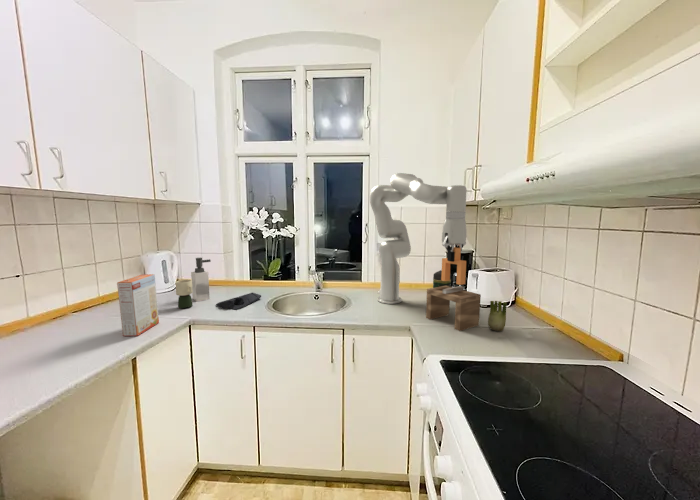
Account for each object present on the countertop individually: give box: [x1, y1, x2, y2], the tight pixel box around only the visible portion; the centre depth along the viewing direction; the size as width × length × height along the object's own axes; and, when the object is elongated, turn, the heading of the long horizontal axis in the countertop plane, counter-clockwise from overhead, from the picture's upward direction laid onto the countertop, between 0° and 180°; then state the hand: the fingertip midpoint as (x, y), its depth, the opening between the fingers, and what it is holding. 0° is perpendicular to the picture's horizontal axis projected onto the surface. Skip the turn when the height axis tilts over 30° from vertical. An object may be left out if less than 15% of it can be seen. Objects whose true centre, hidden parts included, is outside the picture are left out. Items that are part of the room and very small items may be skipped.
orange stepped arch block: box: [441, 246, 467, 286], centre depth 131 cm, size 10×3×14 cm, turn 32°
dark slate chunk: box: [215, 292, 262, 311], centre depth 160 cm, size 15×22×5 cm
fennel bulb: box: [487, 300, 508, 332], centre depth 123 cm, size 6×5×12 cm
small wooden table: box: [425, 285, 481, 332], centre depth 133 cm, size 18×12×15 cm, turn 32°
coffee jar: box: [432, 269, 452, 309], centre depth 149 cm, size 10×8×19 cm
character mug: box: [174, 279, 193, 309], centre depth 151 cm, size 11×7×13 cm, turn 60°
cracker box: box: [116, 273, 160, 337], centre depth 122 cm, size 14×6×21 cm, turn 1°
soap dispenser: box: [190, 257, 212, 302], centre depth 165 cm, size 6×9×22 cm
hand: (453, 260), depth 131 cm, fingers closed on orange stepped arch block, 3 cm apart
